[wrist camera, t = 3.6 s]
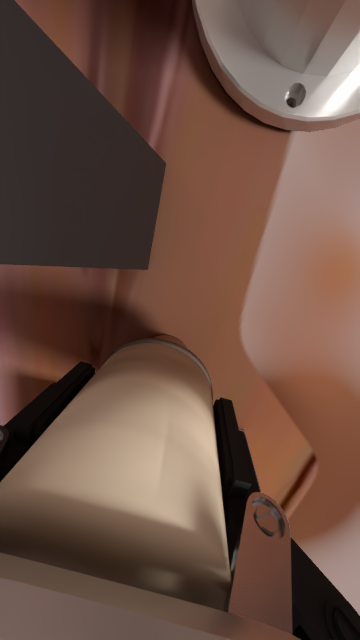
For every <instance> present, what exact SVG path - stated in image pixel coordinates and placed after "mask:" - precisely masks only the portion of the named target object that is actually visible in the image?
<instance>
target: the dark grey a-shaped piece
mask: <svg viewBox="0 0 360 640" xmlns="http://www.w3.org/2000/svg"><path fill="white" fill-rule="evenodd" d="M165 167H166V163H165V162H164V161H163V160H162V158H161V157H160V156H159V155H158V154H157V153H156V152H155V151H154V150H153V149H152V148H151V147H150V146H149V144H148V143H147V142H146V141H145V140H144V139H143V138H142V137H141V136H140V135H139V134H138V133H137V132H136V131H135V129H134V128H133V127H132V126H131V125H130V124H129V123H128V122H127V121H126V120H125V119H124V118H123V117H122V115H121V114H120V113H119V112H118V111H117V110H116V109H115V108H114V107H113V106H112V105H111V104H110V103H109V102H108V100H107V99H106V98H105V97H104V96H103V95H102V94H101V93H100V92H99V91H98V90H97V89H96V88H95V86H94V85H93V84H92V83H91V82H90V81H89V80H88V79H87V78H86V77H85V76H84V75H83V74H82V73H81V71H80V70H79V69H78V68H77V67H76V66H75V65H74V64H73V63H72V62H71V61H70V60H69V59H68V57H67V56H66V55H65V54H64V53H63V52H62V51H61V50H60V49H59V48H58V47H57V46H56V45H55V44H54V42H53V41H52V40H51V39H50V38H49V37H48V36H47V35H46V34H45V33H44V32H43V31H42V30H41V28H40V27H39V26H38V25H37V24H36V23H35V22H34V21H33V20H32V19H31V18H30V17H29V16H28V15H27V13H26V12H25V11H24V10H23V9H22V8H21V7H20V6H19V5H18V4H17V3H16V2H15V1H14V0H0V264H13V265H39V266H64V267H90V268H116V269H141V270H148V264H149V258H150V253H151V247H152V241H153V236H154V230H155V224H156V218H157V213H158V207H159V201H160V196H161V190H162V184H163V178H164V173H165Z"/></svg>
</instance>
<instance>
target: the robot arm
mask: <svg viewBox="0 0 360 640" xmlns="http://www.w3.org/2000/svg"><path fill="white" fill-rule="evenodd" d="M192 6H193V12H194V16H195V20H196V25H197V29H198V33H199V38H200V42H201V44H202V47H203V49H204V52H205V54H206V57H207V59H208V61H209V64H210V66H211V69H212V71H213V72H214V74H215V75H216V77H217V78H218V80H219V82H220V83H221V85H222V86H223V88H224V89H225V91H226V92H227V94H228V95H229V96H230V97H231V98H232V99H233V100H234V101H235V102H236V103H237V104H238V105H239V106H240V107H241V108H242V109H243V110H244V111H246V112H247V113H249V114H251V115H252V116H254V117H255V118H257V119H259V120H260V121H262V122H264V123H266V124H269V125H272V126H275V127H278V128H282V129H285V130H293V131H308V132H311V131H318V130H324V129H330V128H336V127H338V126H341V125H344V124H347V123H349V122H352V121H355V120H357V119H360V0H192ZM287 104H289V105H291V107H292V108H291V107H290V106H288V105H287ZM94 374H95V368H92V364H88V363H84V362H80V363H78V364H77V365H76V366H75V367H74V368H73V369H72V370H71V371H69V372H68V373H67V374H66V375H65V376H64V377H63V378H62V379H61V380H59V381H58V382H57V383H53V384H51V385H50V386H49V387H48V388H47V389H45V390H44V391H43V392H42V393H41V394H40V395H39V396H37V397H36V398H35V399H34V400H33V401H32V402H31V403H29V404H28V405H27V406H26V407H25V408H24V409H23V410H21V411H20V412H19V413H18V414H17V415H16V416H15V417H14V418H12V419H11V420H10V421H9V422H8V423H7V424H6V425H4V426H1V425H0V482H1V481H2V480H3V479H4V478H5V476H6V475H7V474H8V473H9V472H10V471H11V470H12V468H13V467H14V466H15V465H16V464H17V463H18V462H19V460H20V459H21V458H22V457H23V456H24V455H25V454H26V452H27V451H28V450H29V449H30V448H31V447H32V446H33V444H34V443H35V442H36V441H37V440H38V439H39V437H40V436H41V435H42V434H43V433H44V432H45V431H46V429H47V428H48V427H49V426H50V425H51V424H52V423H53V421H54V420H55V419H56V418H57V417H58V416H59V415H60V413H61V412H62V411H63V410H64V409H65V408H66V407H67V405H68V404H69V403H70V402H71V401H72V400H73V399H74V397H75V396H76V395H77V394H78V393H79V392H80V391H81V389H82V388H83V387H84V386H85V385H86V384H87V383H88V381H89V380H90V379H91V378H92V377H93V376H94ZM213 411H214V420H215V430H216V440H217V449H218V459H219V468H220V478H221V487H222V497H223V507H224V516H225V526H226V535H227V545H228V554H229V564H230V574H231V583H232V585H231V586H230V588H229V589H228V591H227V592H226V596H225V601H224V606H223V607H224V608H225V609H224V611H220V610H217V609H213V608H210V607H206V606H202V605H199V604H195V603H191V602H188V601H184V600H180V599H176V598H173V597H169V596H165V595H161V594H158V593H154V592H150V591H147V590H143V589H139V588H135V587H132V586H128V585H124V584H120V583H116V582H113V581H109V580H105V579H101V578H97V577H93V576H90V575H86V574H82V573H78V572H74V571H70V570H67V569H63V568H59V567H55V566H51V565H47V564H44V563H40V562H36V561H32V560H28V559H24V558H20V557H16V556H12V555H8V554H4V553H0V640H360V616H359V615H358V613H357V612H356V611H355V609H354V608H353V607H352V606H351V605H350V603H349V602H348V601H347V600H346V599H345V598H344V597H343V596H342V594H341V593H340V592H339V591H338V590H337V589H336V588H335V586H334V585H333V584H332V583H331V582H330V581H329V580H328V579H327V578H326V576H325V575H324V574H323V573H322V572H321V571H320V570H319V568H318V567H317V566H316V565H315V564H314V563H313V562H312V561H311V559H310V558H309V557H308V556H307V555H306V554H305V553H304V552H303V550H302V549H301V548H300V547H299V546H298V545H297V544H296V543H295V541H294V540H293V539H292V538H291V533H290V527H289V523H288V520H287V517H286V515H285V514H284V512H283V510H282V509H281V507H280V506H279V505H278V504H277V503H276V501H274V500H273V499H272V498H271V497H270V496H268V495H266V494H264V493H261V492H260V488H259V484H258V481H257V477H256V473H255V470H254V466H253V462H252V458H251V455H250V451H249V447H248V444H247V440H246V436H245V434H244V432H243V431H240V430H239V429H238V424H237V420H236V416H235V412H234V408H233V404H232V401H231V400H228V399H224V398H220V399H219V400H216V401H215V403H214V406H213Z"/></svg>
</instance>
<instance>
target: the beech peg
mask: <svg viewBox="0 0 360 640" xmlns="http://www.w3.org/2000/svg"><path fill="white" fill-rule="evenodd" d="M212 400H213V393H212V384H211V379H210V377H209V374H208V372H207V370H206V368H205V366H204V365H203V363H202V362H201V361H200V360H199V359H198V358H197V356H196V355H194V354H193V353H192V352H191V351H189V350H188V349H187V347H186V346H185V344H184V343H183V342H182V341H180V340H179V339H178V338H176V337H173V336H170V335H159V336H156V337H154V338H143V339H137V340H134V341H131V342H128V343H126V344H124V345H122V346H120V347H119V348H117V349H116V350H115V351H114V352H113V353H112V354H111V355H110V356H109V357H108V358H107V359H106V361H105V362H104V363H103V365H102V367H101V368H100V369H99V370H98V371H97V372H96V373H95V375H94V376H93V377H92V378H91V379H90V380H89V381H88V383H87V384H86V385H85V386H84V387H83V388H82V389H81V391H80V392H79V393H78V394H77V395H76V396H75V397H74V399H73V400H72V401H71V402H70V403H69V404H68V405H67V407H66V408H65V409H64V410H63V411H62V412H61V413H60V415H59V416H58V417H57V418H56V419H55V420H54V421H53V423H52V424H51V425H50V426H49V427H48V428H47V429H46V431H45V432H44V433H43V434H42V435H41V436H40V437H39V439H38V440H37V441H36V442H35V443H34V444H33V446H32V447H31V448H30V449H29V450H28V451H27V452H26V454H25V455H24V456H23V457H22V458H21V459H20V460H19V462H18V463H17V464H16V465H15V466H14V467H13V468H12V470H11V471H10V472H9V473H8V474H7V475H6V476H5V478H4V479H3V480H2V481H1V482H0V553H4V554H8V555H12V556H16V557H20V558H24V559H28V560H32V561H36V562H40V563H44V564H47V565H51V566H55V567H59V568H63V569H67V570H70V571H74V572H78V573H82V574H86V575H90V576H93V577H97V578H101V579H105V580H109V581H113V582H116V583H120V584H124V585H128V586H132V587H135V588H139V589H143V590H147V591H150V592H154V593H158V594H161V595H165V596H169V597H173V598H176V599H180V600H184V601H188V602H191V603H195V604H199V605H202V606H206V607H210V608H213V609H217V610H220V611H224V609H225V608H224V607H223V606H224V601H225V596H226V592H227V591H228V589H229V588H230V586H231V585H232V583H231V574H230V564H229V554H228V545H227V535H226V526H225V516H224V507H223V497H222V487H221V478H220V468H219V459H218V449H217V440H216V430H215V420H214V411H213V401H212Z"/></svg>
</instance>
